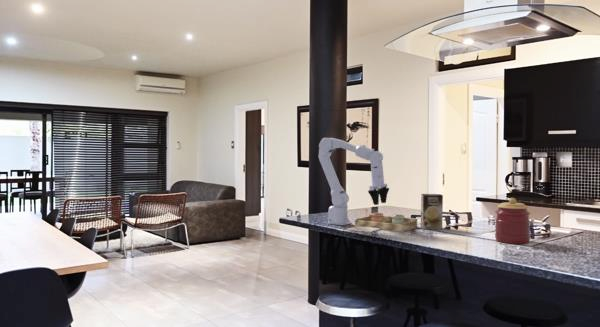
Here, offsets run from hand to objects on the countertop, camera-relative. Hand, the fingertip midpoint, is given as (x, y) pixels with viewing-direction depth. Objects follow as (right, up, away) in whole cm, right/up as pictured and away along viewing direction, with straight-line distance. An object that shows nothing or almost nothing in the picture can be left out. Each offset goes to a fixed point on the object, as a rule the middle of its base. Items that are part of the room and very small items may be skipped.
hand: (379, 203), depth 225 cm
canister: (+47, -12, -37) cm, 61 cm away
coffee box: (+23, -11, -6) cm, 27 cm away
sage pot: (+8, -11, -5) cm, 14 cm away
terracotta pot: (-1, -11, +1) cm, 11 cm away
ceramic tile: (-9, -11, -9) cm, 17 cm away
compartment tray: (+3, -11, -1) cm, 11 cm away
